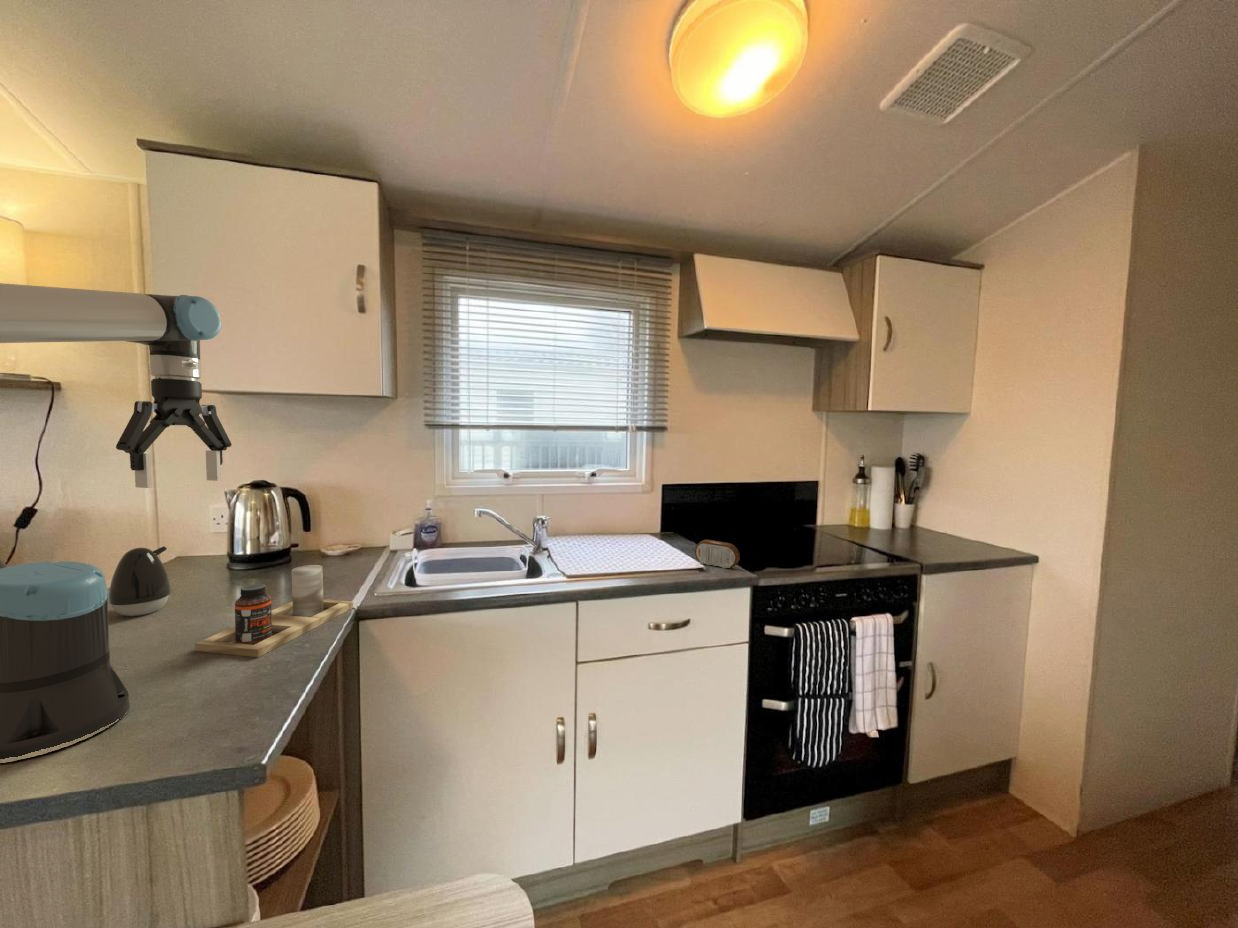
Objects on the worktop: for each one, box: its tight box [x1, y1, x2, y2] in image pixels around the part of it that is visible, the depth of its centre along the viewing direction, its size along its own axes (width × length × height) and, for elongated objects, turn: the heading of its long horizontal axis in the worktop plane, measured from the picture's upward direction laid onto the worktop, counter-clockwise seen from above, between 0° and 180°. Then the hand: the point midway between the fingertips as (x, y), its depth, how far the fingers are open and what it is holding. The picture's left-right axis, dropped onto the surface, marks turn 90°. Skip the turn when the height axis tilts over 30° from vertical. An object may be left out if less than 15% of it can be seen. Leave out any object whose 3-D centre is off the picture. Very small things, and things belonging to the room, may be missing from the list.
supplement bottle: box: [234, 583, 273, 645], centre depth 97 cm, size 6×6×11 cm
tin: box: [694, 539, 741, 568], centre depth 160 cm, size 15×3×8 cm, turn 58°
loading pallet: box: [194, 564, 354, 658], centre depth 104 cm, size 26×14×11 cm, turn 172°
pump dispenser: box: [108, 546, 172, 617], centre depth 111 cm, size 10×10×15 cm
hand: (181, 483), depth 98 cm, fingers open, 13 cm apart
